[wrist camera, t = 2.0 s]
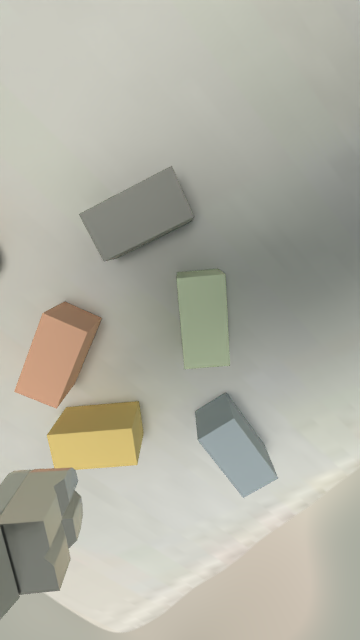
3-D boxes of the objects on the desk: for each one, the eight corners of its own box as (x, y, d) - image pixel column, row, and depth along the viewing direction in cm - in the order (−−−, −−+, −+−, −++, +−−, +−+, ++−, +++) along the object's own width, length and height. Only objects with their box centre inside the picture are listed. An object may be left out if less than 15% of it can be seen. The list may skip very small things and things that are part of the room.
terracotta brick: (65, 301, 27) (42, 313, 23) (102, 317, 27) (87, 332, 23) (39, 368, 29) (14, 391, 24) (75, 383, 29) (56, 408, 25)
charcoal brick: (173, 179, 24) (171, 166, 20) (191, 221, 25) (194, 216, 21) (96, 219, 25) (78, 214, 21) (116, 258, 26) (103, 261, 22)
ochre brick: (138, 400, 29) (131, 428, 25) (143, 432, 30) (137, 464, 26) (66, 406, 30) (46, 435, 25) (73, 438, 30) (55, 471, 26)
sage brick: (177, 272, 26) (176, 278, 22) (218, 268, 26) (225, 274, 22) (183, 349, 28) (184, 369, 24) (222, 346, 28) (229, 365, 24)
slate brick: (195, 410, 30) (197, 440, 25) (225, 391, 29) (233, 418, 25) (234, 461, 31) (243, 497, 27) (264, 444, 30) (278, 478, 26)
